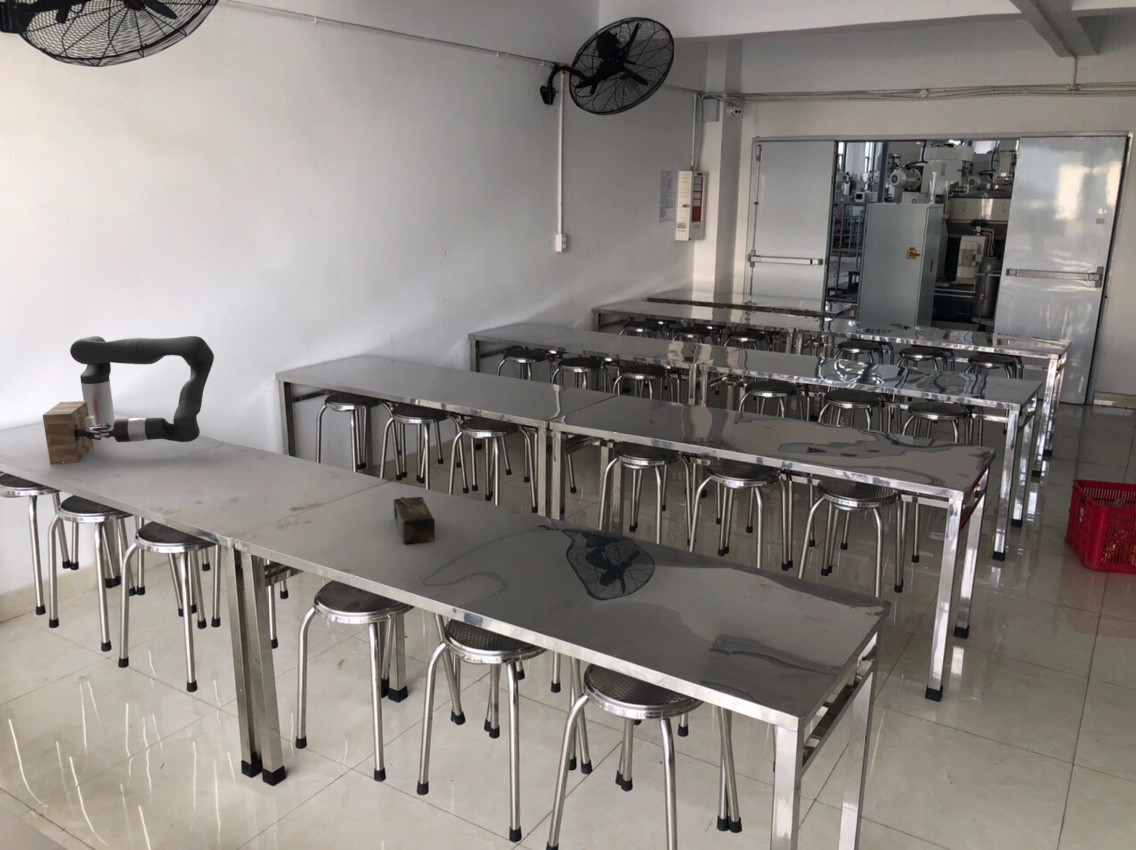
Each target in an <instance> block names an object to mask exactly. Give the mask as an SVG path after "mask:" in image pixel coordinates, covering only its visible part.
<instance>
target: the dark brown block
mask: <svg viewBox="0 0 1136 850" xmlns="http://www.w3.org/2000/svg"><path fill="white" fill-rule="evenodd" d="M393 513H394V514H393V515H394V520H395V523H396V526H397V529H398V533H399V534H400V537H401V539H402V542H403V544H404V545H411V544H422V543H423V544H424V543H434V542H435V536H436V535H435V533H436V531H435V530H436V529H435V519H434V517H433V515H432V513H431V512H430V509H429V507H428V506H427V504H426V502H425V501H424V498H423V496H415V497H405V496H401V497H399V498H394V499H393Z"/></svg>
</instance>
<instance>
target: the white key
mask: <svg viewBox="0 0 1136 850" xmlns="http://www.w3.org/2000/svg"><path fill="white" fill-rule="evenodd" d="M84 419H85V426H86V428H88V427H89V428H90V426H95V425H96V423H95V416H85V417H84Z"/></svg>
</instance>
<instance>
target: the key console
mask: <svg viewBox="0 0 1136 850" xmlns="http://www.w3.org/2000/svg"><path fill="white" fill-rule="evenodd" d="M85 416H89V412H88V405H87V401H84V400H82V401H80V400H79V401H60V402H58V403H57V404H56V405H54V406H53V407H52V408H50V409H49V410H48V411H46V412H45V413H43V414H42V419H43V426H44V434H45V440H46V445H47V446H46V447H47V452H48V453H47V454H48V459H49V464H50V463H61V464H67V463H66V462H78V461H79V460H80V459H81V458H82V457H83V456H84V455H85V454H86V453H87V452H88V451H89V450H90V449H91V448H92V447H93V448H94V444H93V443H94V442H93V439H88V438H87V437H86V436H84V437H76V439H75V434H74V428H75V429H86V426H85V419H84V417H85ZM93 448H92V449H93ZM92 449H91V450H92ZM91 450H90V451H91ZM90 451H89V452H90ZM89 452H88V453H89ZM88 453H87V454H88ZM87 454H86V455H87ZM86 455H85V456H86ZM85 456H84V457H85ZM84 457H83V458H84ZM83 458H82V459H83ZM82 459H81V460H82ZM81 460H80V461H81ZM80 461H79V462H80ZM63 462H64V463H63ZM79 462H78V463H79Z"/></svg>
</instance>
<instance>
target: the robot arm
mask: <svg viewBox="0 0 1136 850" xmlns="http://www.w3.org/2000/svg"><path fill="white" fill-rule="evenodd" d="M69 351H70V354H69V355H71V358H72V359H73V360H74V361H75V362H77V363H78V364H82V365H86V368H85V370H84V371H83V372H82V373H81V374H80V385H81V391H82V401H87V405H88V412H89V416H95V423H96V425H95V426H90V428H89V427H88V428H86V429H74V434H75V437H84V436H86V437H87V438H88V439H92V440H95V441H102V439H104V440H105V439H107V440H108V439H110V438H114V439H115V442H117V443H130V442H143V441H149V440H166V441H171V442H178V443H189V442H192V441H195V440H196V439H198V437H199V436H200V433H201V431H200V427H199V423H198V420H197V416H198V415H199V413H200V412H201V409H202V403H203V397H204V395H203V394H204V389H205V387H206V384H207V381H208V377H209V374H210V372H211V370H212V366H213V365H214V364H213V363H214V360H215V354H214V352H213V351H212V348H211V347H210V346H209V345H208V343H207V342H206V341H205V340H204V339H203V338H202V337H200V336H198V335H188V336H187V335H185V336H179V337H162V338H159V337H157V338H156V337H155V338H152V337H150V338H148V337H131V338H123V339H116V340H111V341H110V340H109V341H107V340H105V339H104V337H102V336H98V335H91V336H86V337H83V338H80V339H77V340H75V341H74V342H73V343H72V344H71V346H70V348H69ZM167 356H176V357H181V358H182V359H183V360H184V362H185V363H186V364H187V366H189V369H190V370H189V371H190V376H189V379H188V381H187V382H185V383H184V385H183V386H182V388H181V390H180V392H179V398H178V406H177V408H176V410H175V412H174V415H173V421H172V422H173V423H170V422H168V421H167V419H165V417H131V418H127V417H126V418H115V410H114V409H115V408H114V403H113V402H114V401H113V396H112V395H113V394H112V388H111V387H112V386H111V382H110V381H111V380H110V379H111V378H110V375H111V371H112V368H111V367H112V365H111V363H114V364H123V365H125V364H127V365H153V364H157V362H160V361H161V360H162V359H163V358H164V357H167Z"/></svg>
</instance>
